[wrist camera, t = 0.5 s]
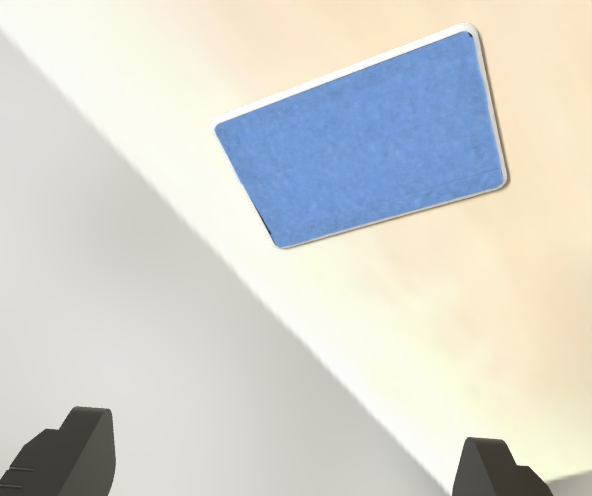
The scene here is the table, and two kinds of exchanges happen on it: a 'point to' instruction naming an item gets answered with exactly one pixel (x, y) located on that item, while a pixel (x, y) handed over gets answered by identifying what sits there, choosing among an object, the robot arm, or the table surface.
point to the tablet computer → (368, 140)
